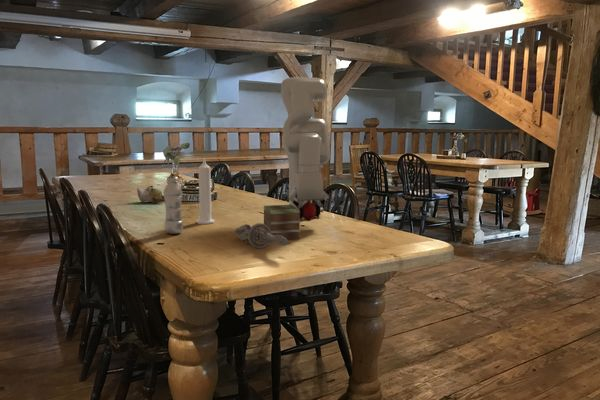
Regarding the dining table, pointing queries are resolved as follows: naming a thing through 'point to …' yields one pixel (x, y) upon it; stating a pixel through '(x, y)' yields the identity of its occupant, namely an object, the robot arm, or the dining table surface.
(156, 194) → the ceramic sculpture
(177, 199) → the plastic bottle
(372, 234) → the dining table surface
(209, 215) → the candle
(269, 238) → the spaceship
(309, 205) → the onion
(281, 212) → the green shadow box
